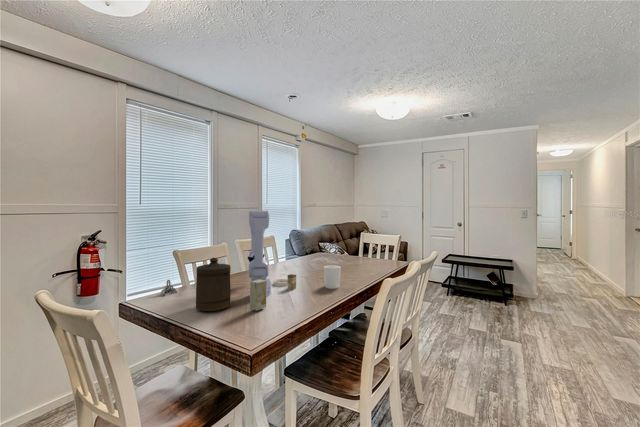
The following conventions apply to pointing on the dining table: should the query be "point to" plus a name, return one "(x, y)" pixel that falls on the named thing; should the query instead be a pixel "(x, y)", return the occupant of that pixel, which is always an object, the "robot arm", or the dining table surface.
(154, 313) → the dining table surface
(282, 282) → the jar dish
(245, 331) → the dining table surface
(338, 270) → the candle holder
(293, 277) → the brown rectangular block
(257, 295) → the skincare box
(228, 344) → the dining table surface
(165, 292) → the house of cards
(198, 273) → the wooden container
